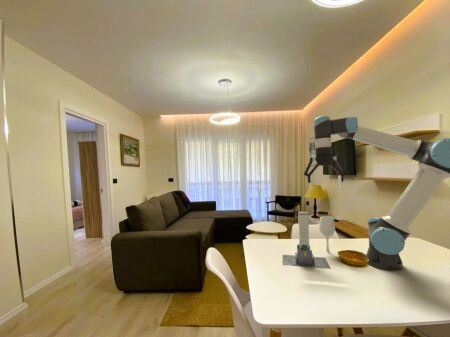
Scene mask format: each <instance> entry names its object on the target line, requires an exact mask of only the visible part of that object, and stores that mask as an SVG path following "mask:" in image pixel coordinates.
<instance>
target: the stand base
mask: <svg viewBox="0 0 450 337" xmlns="http://www.w3.org/2000/svg"><path fill="white" fill-rule="evenodd" d="M296 246H297V248H296V249H297V250H296V252H295V253H294V255H292V254H282V266H288V267H289V266H290V267H303V268H314V269H328V270H331V267H330V265H329V263H328V261H327V258H326V257H322V256H321V257H319V256H314V254H313V250H312V249H311V247H310V248H309V250H308V247H303V246H302V249H300V248H299V243H298V244H297V245H296Z"/></svg>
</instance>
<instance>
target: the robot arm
mask: <svg viewBox="0 0 450 337" xmlns="http://www.w3.org/2000/svg"><path fill="white" fill-rule="evenodd" d="M313 123H314V124H313V129H314V142H315V143H314V144H315V146H314V147H315V157H309V162H308V163H307V166H306V168H305V170H304V173H303V176H305V177H307V183H308V184H309V186H310V187H309V188H310V189H309V190H313V188H314V187H313V176H312V175H313V174H314V172H315V171H316V170H317V169H318V167H319V166H320V167H321V166H322V167H323V166H330V167H331V168H332V169H333V170H334V171H336V173H337V174H338V175H337V179H338V182H337V183H338V189H343V186H342V185H343V184H342V183H343V182H344V181H345V179H344V175H347V174H348V171H347V170H346V168H345V166H344V165H343V163H342V161H341V160H340V159H341V158H340V156H339V155H336V156H333V151H332V150H333V149H332V136H333V135H334V136H335V135H338V136H340V137H341V138H343V139H350V140H353V141H356V142H360V143H364V144H366V145H370V146H374V147H377V148H379V149H383V150H386V151H390V152H394V153H397V154H400V155H404V156H407V157H408V158H409V159H410V160H413V161H415V162H418V163H417V165H418V171H417V172H416V174H415V175H414V176H413V178H412V179H411V181H410V182H409V183H408V185H407V186H406V188H405V189H404V191H403V192H402V194H401V195H400V196H399V198H398V199H397V201H396V202H395V204H394V205H393V207H392V208H391V209H390V210H389V212H388V213H387V215H385V216H384V215H383V216H380V217H376V216H375V217H372V216H371V217H369V218H368V220H367V228H368V248H367V252H366V254H365V257H366V258H368V259H369V261H368V263H367V264H368V265H370V266H372V267H374V268H377V269H381V270H384V271H385V270H387V271H401V270H402V269H404V265H403V264H404V263H403V260H402V258H401V255H400V253H401V252H402V251H404V248H405V245H406V240H407V239H408V237H409V236H410V235H411V234H412V232H411V229H410V227H411V225H412V224H413V223H414V222H415V220H416V219H417V217H418V216H419V215H420V213H421V212H422V211H423V209H424V208H425V206H427V204H428V202H429V201H430V200H431V199H432V197H433V195H434V194H435V193H436V191H437V190H439V187H440V186H441V185H442V184H443V182H444V180H446V179H449V178H450V137H449V138H448V137H445V138H440V139H438V140H436V141H427V140H424V139H418V140H413V139H409V138H407V137H403V136H399V135H394V134H391V133H387V132H383V131H379V130H375V129H371V128H369V127H364V126H361V125H359V121H358V117H357V116H347V117H342V118H337V119H336V118H335V119H334V118H333V119H331V118H330V116H328V115H327V116H326V115H325V116H323V115H322V116H318V117H316V118H315V119H314V122H313ZM333 160H334V161H335V163H337V166H338V167H339V168H338V167H337V166H336V164H334V162H333ZM314 161H315V162H316V164H315V165H314V166H313V167H312V169H311V170H310V168H311V166H312V164H313V162H314ZM309 170H310V171H309ZM366 258H365V259H366Z"/></svg>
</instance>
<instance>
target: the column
mask: <svg viewBox="0 0 450 337" xmlns="http://www.w3.org/2000/svg"><path fill="white" fill-rule="evenodd" d="M297 214H298V217H297V218H298V244H299V248H300V249H302V246H303V247H308V250H309V248H310V249H311V245H310V229H309V228H310V226H309V212H308V211H298V213H297Z"/></svg>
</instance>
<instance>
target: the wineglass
mask: <svg viewBox="0 0 450 337" xmlns="http://www.w3.org/2000/svg"><path fill="white" fill-rule="evenodd" d="M318 225H319V226H318V227H319V232H320V233H321V234H322V236H324V237H325V238H326V241H325V242H326V250H324V251H323V253H325V254H333V253H332V251H330V247H329V246H330V244H329V238H331V237H332V236H333V235H334V234H335V231H336V224H335V219H334V216H328V215H322V216H320V218H319V223H318Z"/></svg>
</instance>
